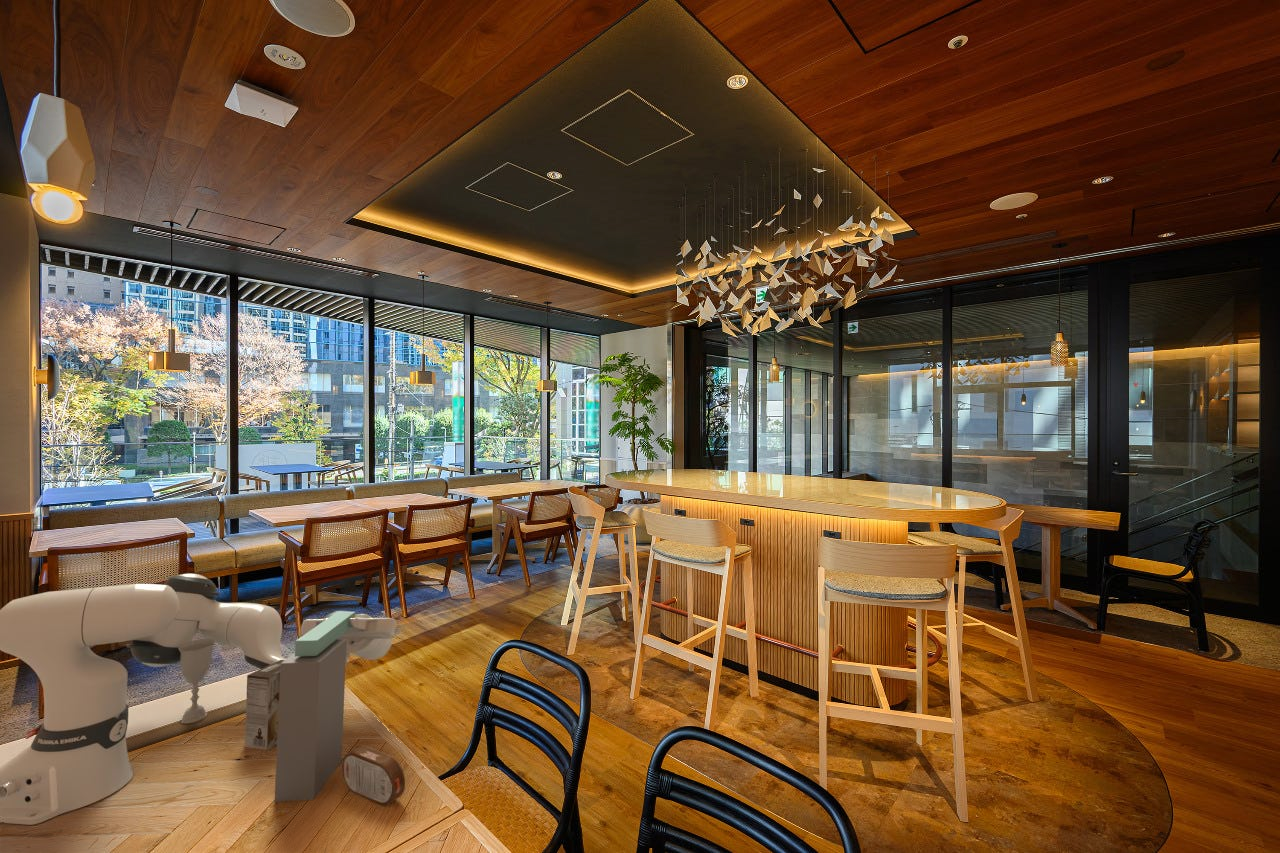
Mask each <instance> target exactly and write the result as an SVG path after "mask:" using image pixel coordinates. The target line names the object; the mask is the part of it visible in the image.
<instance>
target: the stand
mask: <svg viewBox="0 0 1280 853" xmlns="http://www.w3.org/2000/svg"><path fill="white" fill-rule="evenodd" d="M346 640H347V639H340V640H335V641H334V642H333V643H332V644H330V645H329V646H328V647H327V648H326V649H324V650H323V651H322V652H321V653H319V654H318V655H317V656H295V652H294V653H293V654H292V655H290V656H288V657H287V658H286V660H285V661H283V662H282V663H281V668H280V690H279V712H278V734H277V744H276V757H275V758H276V762H275V780H274V781H275V784H274V800H273V801H274V803H278V802H279V803H281V802H283V803H284V802H297V801H311V800H312V801H313V800H315V798H316V797H317V796H318V795H319V793H320V791H322V789H323V788H324V787H325V785H326V783H328V781H329V780H330V778H331V777H332V776H333V775H334V773H335V772H336V770H337V769H336V768H339V766H340V765H341V763H343V759H342V758H343V735H344V732H343V731H344V710H345V690H346V689H345V687H346V667H345V666H346V665H347V663H346ZM339 764H340V765H339ZM334 771H335V772H334ZM333 772H334V773H333ZM331 775H332V776H331Z"/></svg>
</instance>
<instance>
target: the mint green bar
mask: <svg viewBox="0 0 1280 853" xmlns="http://www.w3.org/2000/svg"><path fill="white" fill-rule="evenodd" d="M355 613H356V611H349V612H336V613H335V614H333V615H332V616H330V617H329V618H328V619H326V620H325V621H323V622H322V623H320V624H319V625H318V626H316V627H315V628H313V629H312V630H310V631H309V632H308V633H306V634H305V635H303V636H302V637H301V636H300V637H299V638H297V639H296V640H295V646H294V653H295V656H317V655H318V654H319V653H321V652H322V651H323V650H324V649H326V648H327V647H328V646H329V645H330V644H332V643H333V642H334V641H335V640H337V639H338V638H339V637H340V636H341V635H343V634H344V633H345V632H346V631H348V630H349V629H350V628H351V627H349V626H348V622H349V621H348V620H349V618H355Z"/></svg>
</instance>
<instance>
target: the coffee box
mask: <svg viewBox="0 0 1280 853" xmlns="http://www.w3.org/2000/svg"><path fill="white" fill-rule="evenodd" d="M283 661H285V660H280V661H277V662H275V663H273V664H271V665H269V666H266V667H264V668H262V669H260V668H259V669H258V670H256V671H253V672H252V673H249V674H247V675H246V679H247V680H246V698H245V699H246V703H245V728H244V729H245V730H244V732H245V733H244V747H245V748H252V749H257V748H258V750H265V751H269V750H270V749H271V748H273V747H274V746H277V734H278V712H279V690H280V668H281V663H282V662H283Z"/></svg>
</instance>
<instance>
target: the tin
mask: <svg viewBox="0 0 1280 853" xmlns="http://www.w3.org/2000/svg"><path fill="white" fill-rule="evenodd" d="M342 778H343V782H344V783H345V785H346V786H347V788H348V789H349V791H351V792H352V793H354V794H355V795H357V796H360V797H363V798H364V799H366V800H368V801H371V802H374V803H375V804H378V805H379V804H380V806H388V805H390V804H391V803H392V802H394V801H395V800H396V799H399V798H400V797H401V796H402V795H403V793H404V791H405V787H406V777H405V773H404V770H403V767H402V766H401V764H400V763H399V761H398V760H397V759H396V758H395V757H394V756H392V755H390V754H388V753H385V752H382V751H380V750H378V749H375V748H372V747H370V746H367V745H364V744H359V745H358V746H356V747H354V748H353V749H351V750H350V751H348V752H347V753H346V754H345V756H344V757H343V759H342Z"/></svg>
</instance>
